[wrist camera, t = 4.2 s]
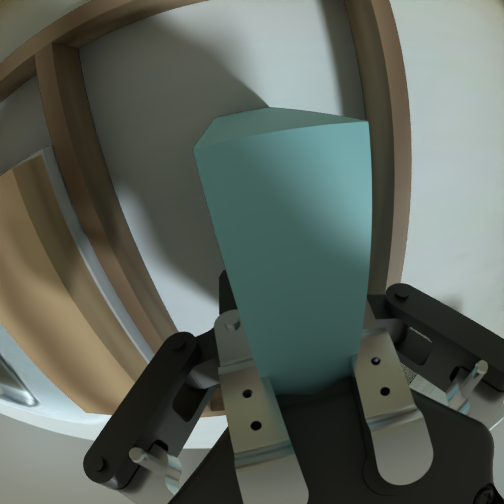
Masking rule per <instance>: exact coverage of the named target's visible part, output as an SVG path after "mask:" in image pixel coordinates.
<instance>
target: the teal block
mask: <svg viewBox="0 0 504 504" xmlns="http://www.w3.org/2000/svg"><path fill="white" fill-rule="evenodd" d="M192 150H193V154H194V158H195V161H196V165H197V169H198V173H199V177H200V180H201V184H202V188H203V191H204V195H205V199H206V202H207V206H208V210H209V213H210V217H211V220H212V224H213V227H214V231H215V234H216V238H217V241H218V245H219V248H220V252H221V255H222V259H223V262H224V265H225V269H226V272H227V275H228V279H229V282H230V285H231V289H232V292H233V295H234V298H235V302H236V305H237V308H238V311H239V314H240V318H241V321H242V324H243V327H244V330H245V333H246V337H247V340H248V343H249V346H250V349H251V352H252V355H253V358H254V361H255V364H256V367H257V370H258V373H259V376H260V377H265V376H269V378H270V381H271V384H272V388H273V391H274V394H275V396H278V395H304V394H316V393H318V392H320V391H322V390H324V389H326V388H328V387H330V386H331V385H333V384H335V383H337V382H339V381H340V380H342V379H346V378H349V377H351V375H350V372H349V370H348V366H349V360H350V356H351V355H354V354H358V353H359V348H360V342H361V335H362V329H363V322H364V315H365V307H366V298H367V289H368V279H369V267H370V252H371V230H372V171H371V150H370V135H369V124H368V121H364V120H359V119H354V118H349V117H343V116H338V115H332V114H325V113H319V112H312V111H304V110H295V109H285V108H274V107H268V108H262V109H256V110H250V111H245V112H240V113H235V114H230V115H225V116H221V117H216V118H215V119H214V120H213V121H212V123H211V124H210V125H209V127H208V128H207V129H206V131H205V132H204V134H203V135H202V136H201V138H200V139H199V141H198V142H197V143H196V145H195V146H194V148H193V149H192Z"/></svg>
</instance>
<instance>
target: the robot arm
mask: <svg viewBox="0 0 504 504" xmlns="http://www.w3.org/2000/svg"><path fill="white" fill-rule="evenodd" d="M410 327H412V328H414V329H415V330H417V331H419V332H420V333H422V334H423V335H425V336H427V337H428V338H429V339H430V340H431V341H432V342H430V341H428V340H427V339H425V338H424V337H422V336H421V335H419V334H417V333H416V332H414V331H413V330H411V329H410ZM400 362H401V363H403V364H404V365H406V366H407V367H408V368H410V369H411V370H413V371H414V372H416V373H417V374H419V375H420V376H421V377H423V378H424V379H426V380H427V381H429V382H430V383H432V384H433V385H434V386H436V387H437V388H439V389H440V390H442V391H443V392H445V393H446V398H447V401H448V402H447V405H448V406H446V405H444V404H442V403H440V402H438V401H435V400H433V399H431V398H429V397H427V396H425V395H423V394H421V393H419V392H417V391H415V390H413V389H411V388H410V387H409V385H408V382H407V380H406V377H405V374H404V371H403V369H402V366H401V363H400ZM348 370H349V372H350V375H351V377H349V378H346V379H342V380H340V381H339V382H337V383H335V384H333V385H331V386H330V387H328V388H326V389H324V390H322V391H320V392H318V393H316V394H304V395H278V396H275V394H274V391H273V388H272V384H271V381H270V378H269V376H265V377H260V376H259V373H258V370H257V367H256V364H255V361H254V358H253V355H252V352H251V349H250V346H249V343H248V340H247V337H246V333H245V330H244V327H243V324H242V321H241V318H240V314H239V311H238V308H237V305H236V302H235V298H234V295H233V292H232V289H231V285H230V282H229V279H228V275H227V272H226V270H223V272H222V274H221V275H220V277H219V317H218V318H217V319H216V320H215V323H214V327H213V328H212V329H211V330H209V331H208V332H206V333H204V334H201V335H199V336H197V337H194V335H193V334H191V333H189V332H178V333H175V334H173V335H171V336H170V337H168V338H167V339H166V340H165V341H164V343H163V344H162V346H161V347H160V348H159V350H158V351H157V353H156V354H155V355H154V357H153V358H152V360H151V361H150V362H149V364H148V365H147V367H146V368H145V369H144V371H143V372H142V374H141V375H140V377H139V378H138V379H137V381H136V382H135V384H134V385H133V386H132V388H131V389H130V391H129V392H128V394H127V395H126V396H125V398H124V399H123V401H122V402H121V404H120V405H119V406H118V408H117V409H116V411H115V412H114V414H113V415H112V417H111V418H110V420H109V421H108V422H107V424H106V425H105V427H104V428H103V430H102V431H101V433H100V434H99V436H98V437H97V439H96V440H95V441H94V443H93V445H92V446H91V448H90V449H89V450H88V452H87V453H86V455H85V457H84V461H83V467H84V471H85V473H86V475H87V476H88V478H90V479H91V480H92V481H94V482H96V483H99V484H101V485H104V486H106V487H107V488H109V489H112V490H115V491H117V492H120V493H121V494H123V495H124V496H126V497H127V498H128V499H130V500H131V501H133V502H134V503H136V504H504V499H503V498H502V497H501V496H500V494H499V493H498V491H497V490H496V488H495V486H494V482H493V456H494V442H493V437H492V435H491V433H490V431H489V429H490V427H491V425H492V423H493V421H494V419H495V417H496V415H497V413H498V411H499V409H500V407H501V405H502V403H503V400H504V339H503V338H501V337H500V336H498V335H496V334H495V333H493V332H491V331H490V330H488V329H486V328H485V327H483V326H481V325H480V324H478V323H476V322H475V321H473V320H471V319H469V318H468V317H466V316H464V315H463V314H461V313H459V312H457V311H456V310H454V309H452V308H450V307H448V306H447V305H445V304H443V303H441V302H440V301H438V300H436V299H434V298H432V297H430V296H429V295H427V294H425V293H423V292H421V291H419V290H418V289H416V288H414V287H412V286H410V285H408V284H404V283H396V284H393V285H391V286H389V287H388V288H387V290H386V292H385V294H377V295H370V294H367V298H366V307H365V315H364V322H363V329H362V335H361V342H360V348H359V353H358V354H354V355H351V356H350V360H349V366H348ZM218 383H220V385H221V391H222V396H223V402H224V407H225V412H226V417H227V422H228V427H227V428H226V430H225V431H224V432H223V434H222V435H221V437H220V438H219V439H218V441H217V442H216V443H215V445H214V446H213V447H212V449H211V450H210V452H209V453H208V454H207V456H206V457H205V458H204V459H203V461H202V462H201V463H200V465H199V466H198V467H197V468H196V470H195V471H194V472H193V474H192V475H191V476H190V477H189V479H188V480H187V481H186V482H185V483H184V485H183V486H182V487H181V488H179V478H180V476H181V471H182V468H181V464H180V462H179V460H178V459H177V457H178V455H179V453H180V452H181V450H182V448H183V446H184V445H185V443H186V441H187V439H188V438H189V436H190V434H191V432H192V431H193V429H194V427H195V425H196V423H197V422H198V420H199V418H200V416H201V414H202V413H203V411H204V409H205V407H206V405H207V403H208V402H209V400H210V398H211V396H212V394H213V392H214V391H215V389H216V387H217V384H218Z"/></svg>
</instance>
